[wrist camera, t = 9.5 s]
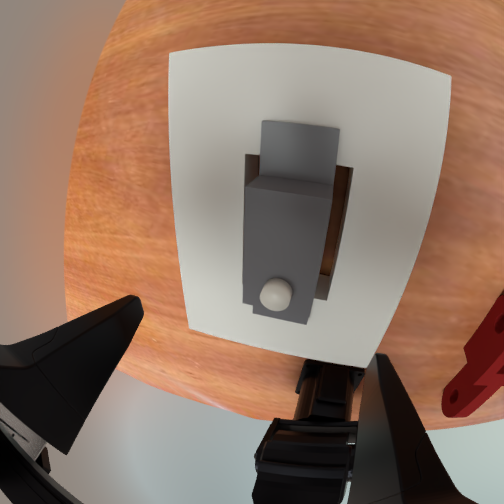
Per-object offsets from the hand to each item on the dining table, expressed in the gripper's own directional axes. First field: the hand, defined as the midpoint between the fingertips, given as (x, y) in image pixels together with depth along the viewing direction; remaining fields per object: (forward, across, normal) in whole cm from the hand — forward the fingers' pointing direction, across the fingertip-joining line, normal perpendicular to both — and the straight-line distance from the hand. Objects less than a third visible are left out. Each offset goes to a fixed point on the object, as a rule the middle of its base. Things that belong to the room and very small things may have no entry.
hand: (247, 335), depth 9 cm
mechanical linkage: (+12, -23, +11) cm, 28 cm away
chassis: (+12, 0, 0) cm, 12 cm away
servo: (+12, 0, 0) cm, 12 cm away
